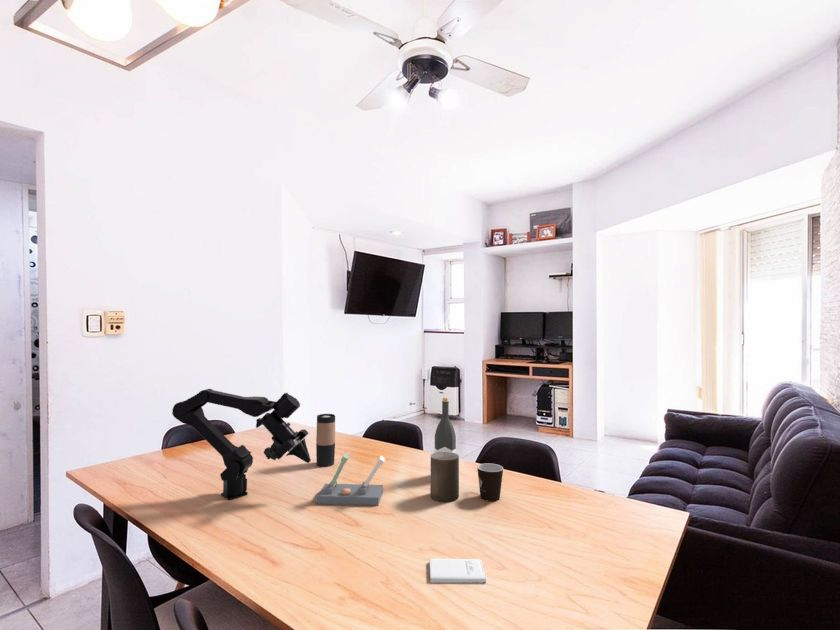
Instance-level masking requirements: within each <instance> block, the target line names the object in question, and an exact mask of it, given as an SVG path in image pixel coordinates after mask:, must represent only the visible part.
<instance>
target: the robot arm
mask: <svg viewBox="0 0 840 630" xmlns="http://www.w3.org/2000/svg"><path fill="white" fill-rule="evenodd" d="M207 403H209V404H213V405H217V406H223V407H227V408H232V409H236V410H238V411H240V412H242V413H243V414H245V415H247V416H250V417H253V418H256V417H259V418H256V419H255V420H256V423H255V424H256V425H255V428H257V429H258V428H260V427H261V426H263V427H264V428H265V429H266V430H267V431H268V433H270V434H271V440H272V441H273V443H272V444H271V445H270V447H269V446H267V447H266V448H264V451H263V454H264V455H265V458H266V459H267V460H273V461H276V460H280V459H282V458H283V456H284V455H285V454H286V455H285V456H286V457H288V456H295V457H296V458H299V459H300V460H302V461H304V462H305V463H306V464H309V463H310V462H311V456H310V453H309V451H308V445H307V443H306V437H307V436H308V435H309V432H308V431H307V429H306V428H305V429H304V428H303V429H302V428H301V429H300V430H299V431H294V430H293V429H292V428H291V427H290V426H291V423H290V422H286V421H285V420H284V419H289V418H290V417H291V415H293V414H294V413H295V412H296V411H297V410H298V409H299V408H300V407H301V403H300V401H299V400H298V398H297V397H294V396H293V395H291V394H289V393H288V392H284V393H283V394H282V395H281V396H280V398H279V399H277V400H276V401H274V400H269V399H268V398H267V397H265V396H241V395H237V394H232V393H228V392H223V391H218V390H214V389H212V388H207V389H204V390H202V389H201V390H200V391H199V392H198V393H196V394H195V395H193V396H191V397H189V398H188V399H185V400H183V401H179V402H176V403H175V404H174V406H173V407H172V416H173V417H174V418H175V420H178V421H179V422H181V423H182V424H185V425H186V426H187V425H188V426H189V427H192V428H193V429H194V430H195V431H196V432H197V433H198V434H199V435H200V436H201V437H202V438H203V439H204V440H205V441H206V442H207V443H208V444H209V445H210V446H211V447H212V448H213V449H214V450H215V451H216V452H217V453H218V454H219V455H220V456H221V457H222V460H223V464H224V466H225V469H224V470H223V471H222V472H221V473H220V474H219V477H220V479H221V481H222V482H223V483H222V486H223V487H222V488H223V490H222V492H221V493H220V495H221V496H222V497H223V498H225V499H227V500H233V499H236V498H239V497H243V496H247V495H248V494H249V492H248V478H247V475H246V473H247V472H248V470H249V469H250V467H252V465H253V463H254V456H253V455H252V451H250V450H248V449H247V448H246V446H245V445H244V444H241V445H239V446H236V445H234V444H233V443H232V441H230V440H229V439H228V438H227V437H226V436H225V435H224V434H223V433H222V432H221V431H220V430H219V429H218V428H217V427H216V426H215V425H214V424H213V423H212V422H211V421H210V420H209V419H208V418H207V417H206V416H205V412H204V408H203V407H204V406H205V405H207ZM271 410H272V411H271ZM270 411H271V412H270ZM261 415H263V416H262V417H260V416H261ZM287 452H288V453H287Z"/></svg>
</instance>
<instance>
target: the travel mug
mask: <svg viewBox="0 0 840 630" xmlns="http://www.w3.org/2000/svg"><path fill="white" fill-rule="evenodd" d="M315 437H316V438H315V439H316V443H315V444H316V445H315V447H316V448H315V450H316V451H315V452H316V455H315V456H316V466H317V467H320V468H321V467H322V468H326V467H332V466H333V465H334V464H335V456H336V455H335V453H336V451H335V450H336V415H335V414H334V413H320V414H317V415H316V436H315Z"/></svg>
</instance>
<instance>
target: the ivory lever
mask: <svg viewBox="0 0 840 630" xmlns="http://www.w3.org/2000/svg"><path fill="white" fill-rule="evenodd" d="M385 461H386V458H385V457H384V456H382V455H380V456H379V458H378V459H377V462H376V464H375V466H374V468H373V469H372V470H371V472H370V473H369V475H368V476H367V478H366V479H365V481H363V482H362V483H361V484H362V486H361V488H366V489H367V487H368V484H369V485H370V483H371V481H372V480H373V477H375V476H376V473H377V471H378V470H379V468H380V467H381V466H383V464H384V462H385Z"/></svg>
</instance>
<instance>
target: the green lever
mask: <svg viewBox="0 0 840 630" xmlns="http://www.w3.org/2000/svg"><path fill="white" fill-rule="evenodd" d="M350 456H351V455H349V454H347V453H346V452H345V453H344V454H343V455H342V458H341V459H340V463H339V466H338V467H337V469H336V472H335V474H334V475H333V477H332V480H330V483H328V484H329V485H328V487H327V488H333V489H334V487H335V486H336V481H337V482H338V479H339V477H340V474H341V472H342V470H343V469H344V466H345V464H346V463H347V462H348V460H349V458H350Z"/></svg>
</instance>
